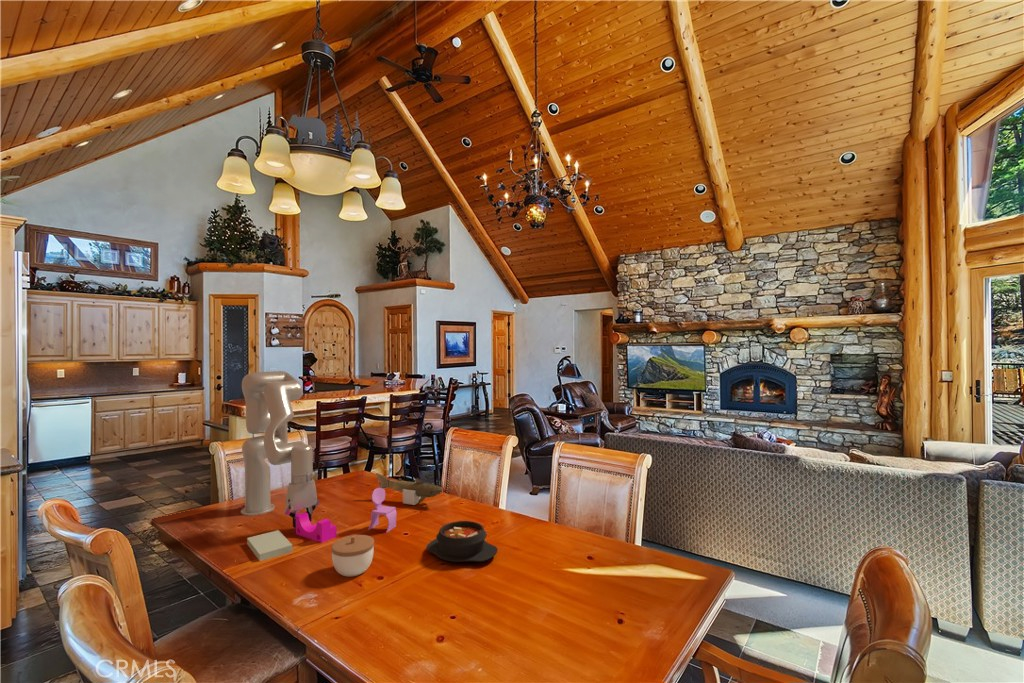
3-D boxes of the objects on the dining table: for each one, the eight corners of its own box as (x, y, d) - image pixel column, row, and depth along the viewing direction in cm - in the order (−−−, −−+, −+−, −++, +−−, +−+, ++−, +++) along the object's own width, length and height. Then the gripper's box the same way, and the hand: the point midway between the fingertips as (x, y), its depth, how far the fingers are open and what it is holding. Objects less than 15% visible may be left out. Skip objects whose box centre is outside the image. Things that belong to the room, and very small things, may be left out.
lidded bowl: (382, 566, 145) (382, 531, 145) (356, 586, 133) (356, 548, 133) (349, 560, 149) (349, 526, 149) (322, 579, 137) (322, 542, 137)
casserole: (507, 549, 157) (506, 524, 157) (481, 574, 140) (480, 547, 140) (445, 536, 167) (445, 513, 167) (414, 558, 150) (414, 533, 150)
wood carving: (382, 493, 215) (382, 470, 215) (447, 502, 202) (447, 477, 202) (370, 499, 207) (370, 475, 207) (436, 509, 194) (436, 483, 194)
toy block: (336, 538, 167) (336, 517, 167) (321, 544, 161) (321, 523, 161) (310, 529, 174) (310, 510, 174) (295, 535, 169) (295, 515, 169)
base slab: (247, 547, 160) (247, 538, 160) (278, 539, 167) (278, 529, 167) (259, 565, 147) (259, 554, 147) (292, 555, 154) (292, 544, 154)
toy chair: (386, 533, 170) (386, 493, 170) (366, 530, 173) (366, 491, 173) (398, 525, 178) (398, 487, 178) (379, 522, 180) (379, 485, 180)
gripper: (317, 471, 182) (317, 517, 182) (274, 481, 168) (275, 531, 168) (327, 474, 177) (327, 521, 177) (285, 485, 164) (285, 536, 164)
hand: (302, 525), depth 173 cm, fingers open, 3 cm apart
